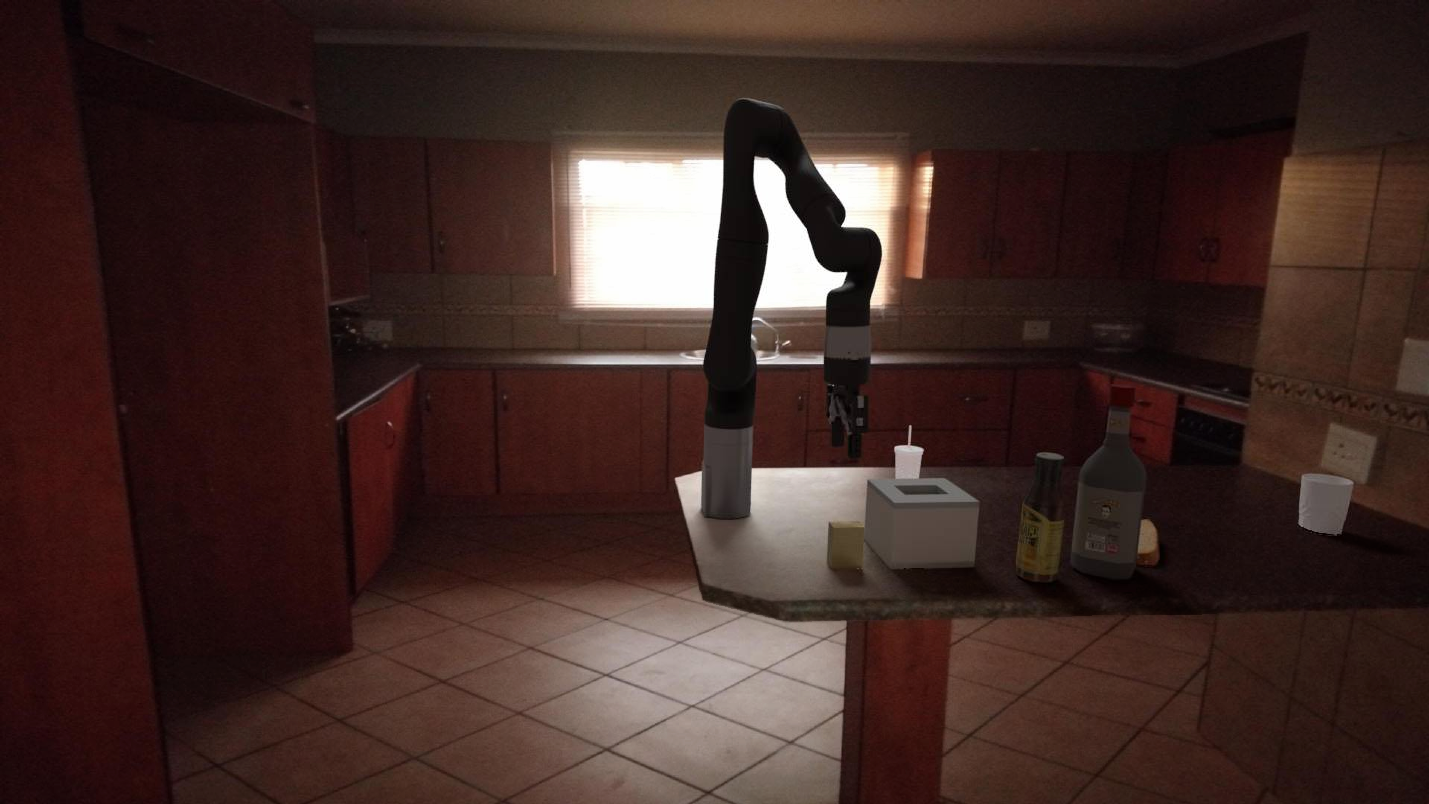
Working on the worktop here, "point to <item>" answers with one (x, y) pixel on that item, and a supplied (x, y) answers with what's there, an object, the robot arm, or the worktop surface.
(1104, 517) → the liquor
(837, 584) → the worktop surface
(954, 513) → the grey box with opening
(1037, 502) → the sauce bottle
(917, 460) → the beverage cup
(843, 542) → the tall khaki box
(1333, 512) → the white cup
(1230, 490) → the worktop surface
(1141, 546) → the slice of bread
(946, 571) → the worktop surface
